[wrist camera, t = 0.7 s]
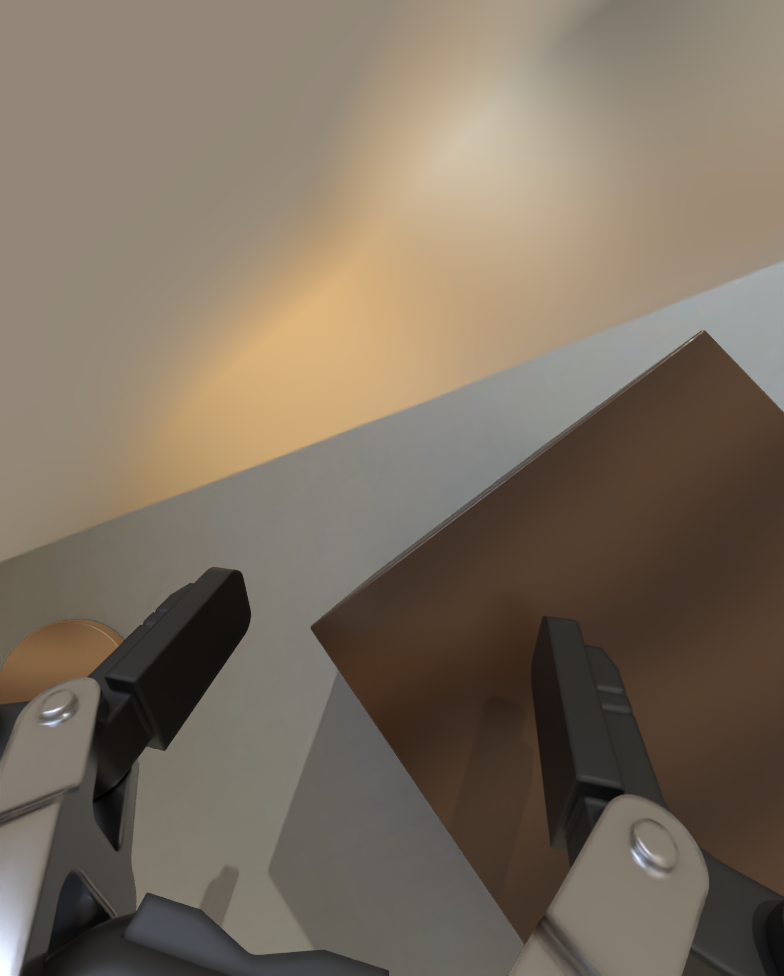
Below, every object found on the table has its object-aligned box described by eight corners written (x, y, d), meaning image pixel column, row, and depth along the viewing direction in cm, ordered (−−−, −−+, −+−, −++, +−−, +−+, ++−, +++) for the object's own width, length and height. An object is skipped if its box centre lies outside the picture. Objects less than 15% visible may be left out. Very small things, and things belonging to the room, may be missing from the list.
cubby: (371, 575, 27) (308, 627, 12) (547, 442, 27) (704, 327, 12) (566, 846, 24) (806, 1362, 9) (760, 695, 24) (1310, 956, 9)
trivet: (-5, 641, 28) (-18, 644, 27) (126, 601, 28) (117, 603, 27) (17, 789, 27) (5, 797, 26) (155, 749, 26) (147, 755, 25)
